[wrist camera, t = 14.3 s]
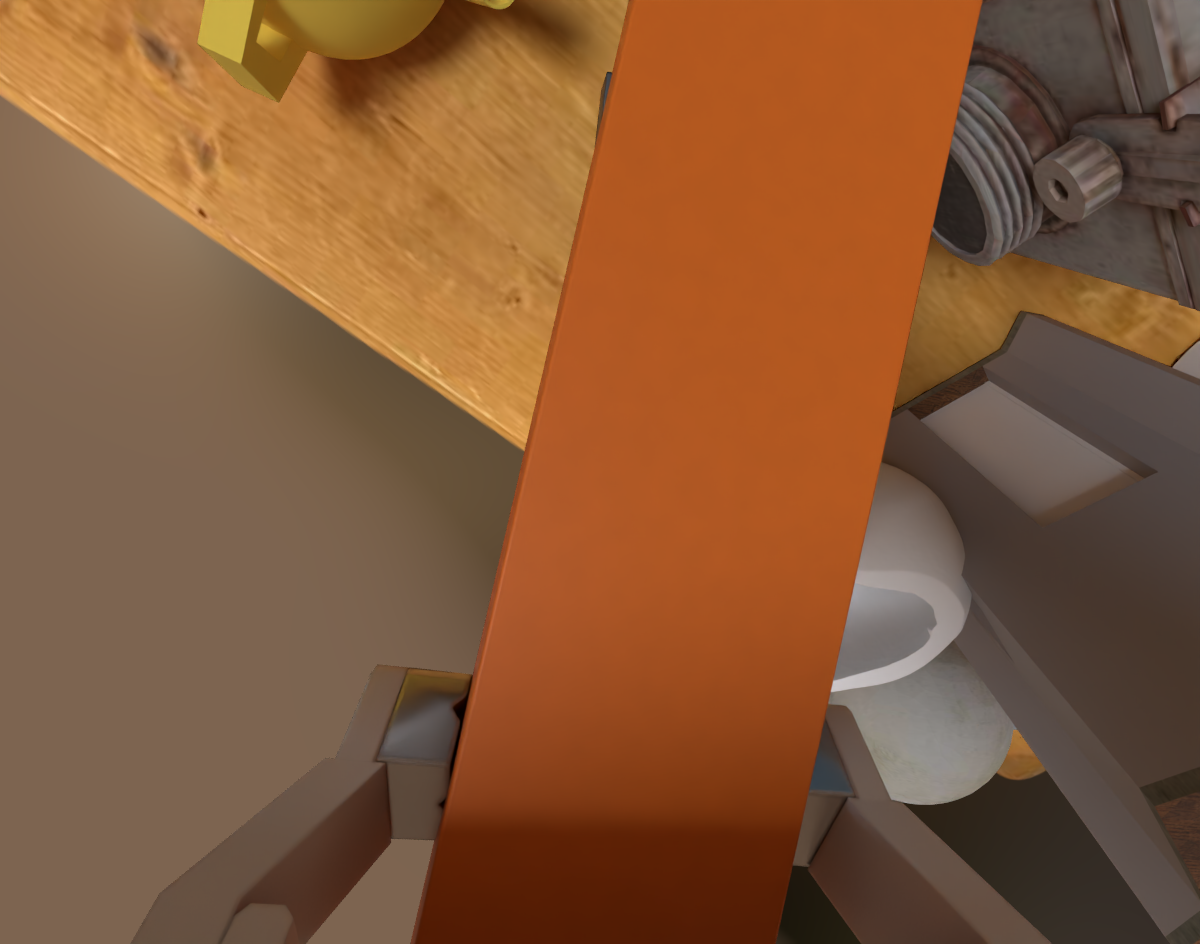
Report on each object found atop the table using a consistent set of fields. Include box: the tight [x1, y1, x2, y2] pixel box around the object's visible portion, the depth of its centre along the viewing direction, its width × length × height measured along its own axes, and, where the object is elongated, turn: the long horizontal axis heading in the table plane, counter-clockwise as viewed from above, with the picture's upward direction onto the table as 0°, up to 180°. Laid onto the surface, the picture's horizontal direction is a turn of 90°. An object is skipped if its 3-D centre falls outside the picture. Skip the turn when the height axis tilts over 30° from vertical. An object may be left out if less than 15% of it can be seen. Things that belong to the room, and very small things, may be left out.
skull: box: [831, 462, 972, 692], centre depth 39 cm, size 13×18×20 cm
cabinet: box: [881, 311, 1200, 944], centre depth 33 cm, size 21×10×28 cm, turn 170°
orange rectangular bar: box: [410, 0, 983, 944], centre depth 9 cm, size 18×4×2 cm, turn 165°
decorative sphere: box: [828, 640, 1013, 804], centre depth 48 cm, size 15×15×15 cm
